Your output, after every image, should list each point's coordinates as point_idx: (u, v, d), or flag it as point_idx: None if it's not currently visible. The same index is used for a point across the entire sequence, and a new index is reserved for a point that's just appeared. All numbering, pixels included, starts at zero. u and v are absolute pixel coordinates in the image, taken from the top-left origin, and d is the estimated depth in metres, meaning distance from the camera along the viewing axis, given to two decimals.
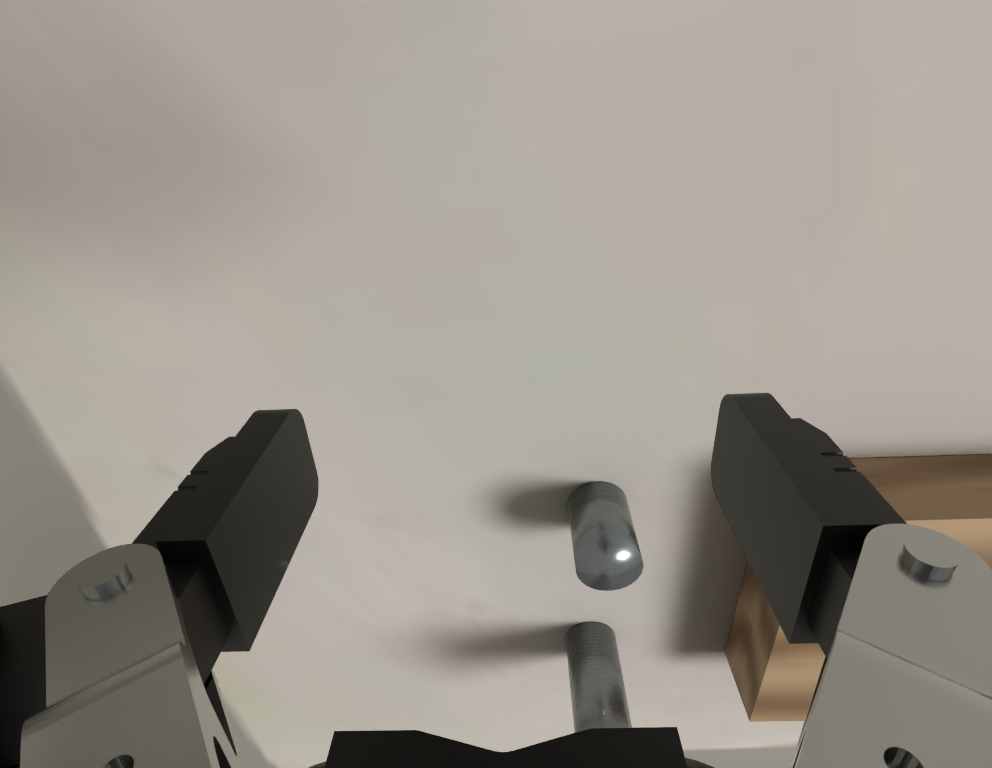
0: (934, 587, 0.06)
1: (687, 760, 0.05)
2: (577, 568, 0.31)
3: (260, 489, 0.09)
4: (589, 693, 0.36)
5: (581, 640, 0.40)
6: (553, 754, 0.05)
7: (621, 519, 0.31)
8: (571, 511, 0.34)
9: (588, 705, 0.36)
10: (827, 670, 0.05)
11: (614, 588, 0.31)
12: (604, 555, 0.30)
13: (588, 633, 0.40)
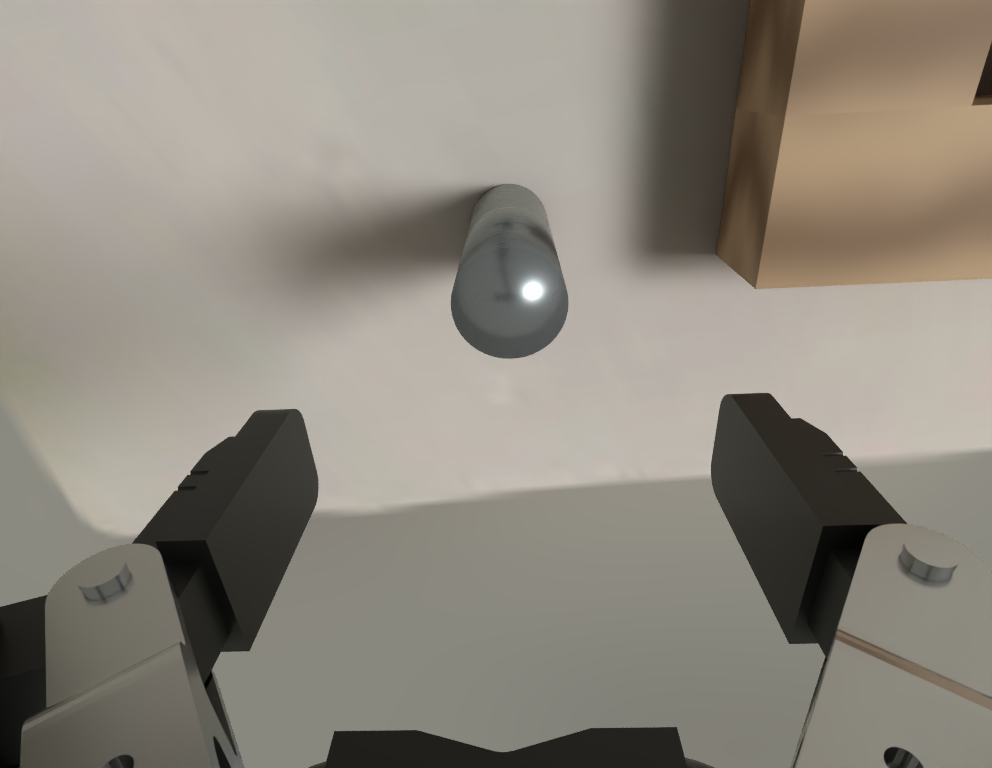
0: (934, 587, 0.06)
1: (687, 760, 0.05)
2: None
3: (260, 489, 0.09)
4: (488, 212, 0.22)
5: (489, 195, 0.25)
6: (553, 754, 0.05)
7: None
8: None
9: (483, 218, 0.21)
10: (827, 670, 0.05)
11: None
12: None
13: (501, 189, 0.25)
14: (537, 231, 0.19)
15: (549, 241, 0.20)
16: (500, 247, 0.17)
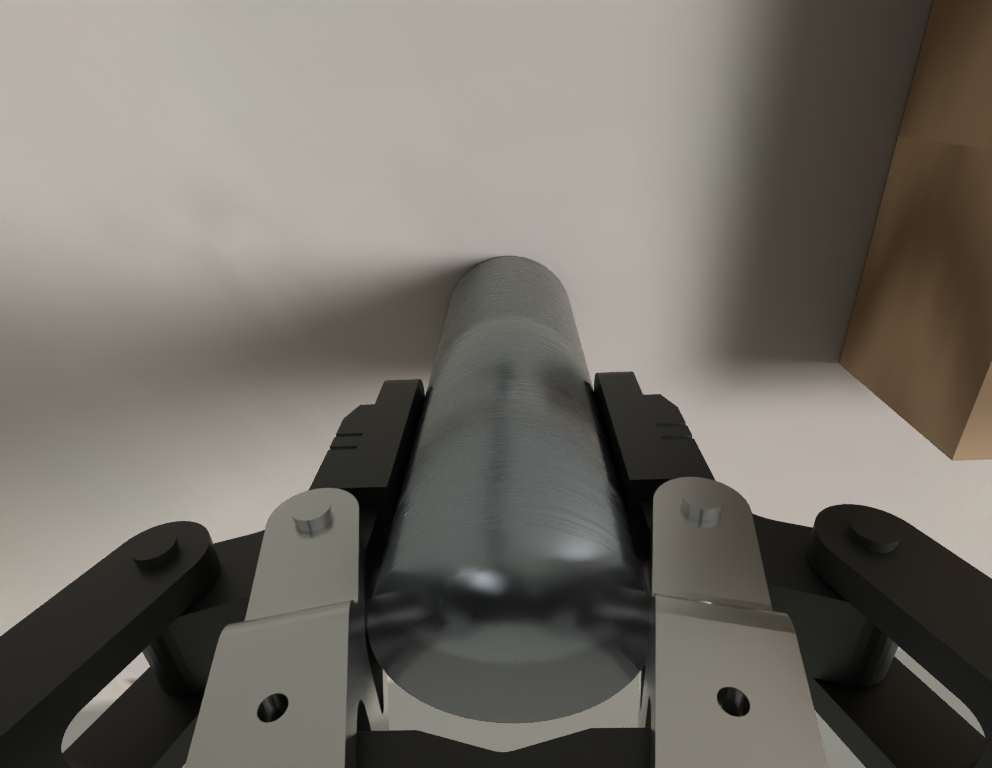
0: (696, 525, 0.07)
1: None
2: None
3: (407, 448, 0.10)
4: (470, 335, 0.12)
5: (475, 280, 0.15)
6: (554, 755, 0.05)
7: None
8: None
9: (460, 354, 0.11)
10: (657, 637, 0.05)
11: None
12: None
13: (496, 268, 0.15)
14: (570, 407, 0.09)
15: (594, 424, 0.09)
16: (487, 524, 0.06)
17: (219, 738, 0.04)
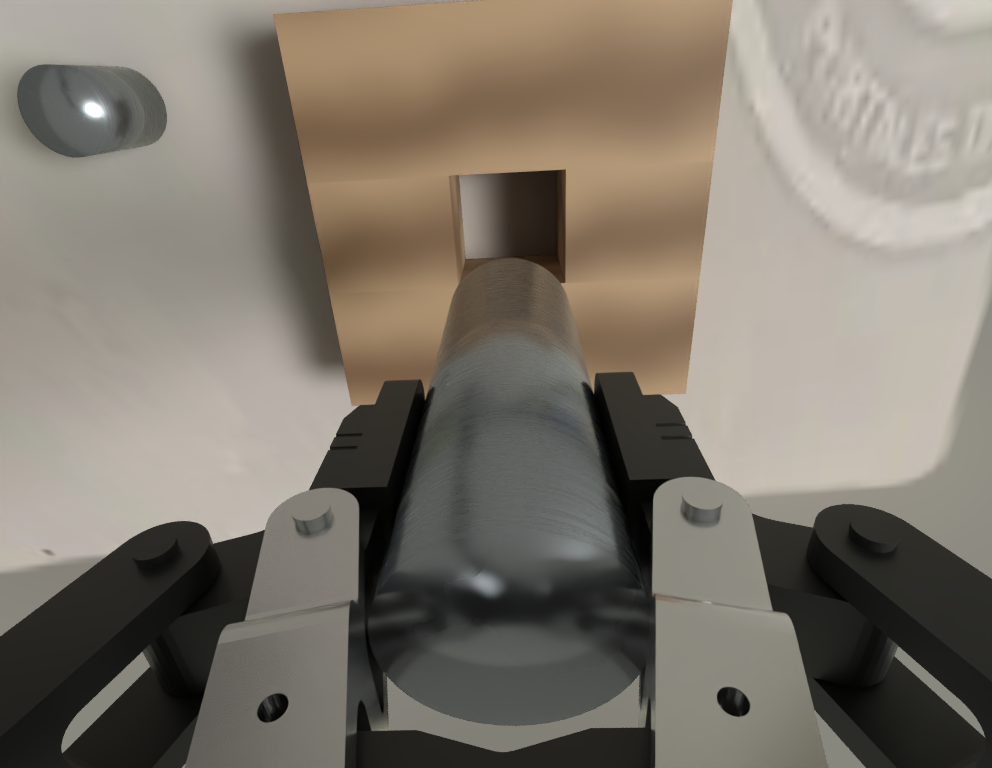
0: (696, 526, 0.07)
1: None
2: (23, 114, 0.24)
3: (407, 449, 0.10)
4: (470, 337, 0.12)
5: (476, 282, 0.15)
6: (553, 755, 0.05)
7: (97, 70, 0.25)
8: None
9: (460, 357, 0.11)
10: (657, 637, 0.05)
11: (85, 153, 0.25)
12: (44, 87, 0.24)
13: (496, 270, 0.15)
14: (570, 410, 0.09)
15: (594, 427, 0.09)
16: (487, 528, 0.06)
17: (219, 738, 0.04)
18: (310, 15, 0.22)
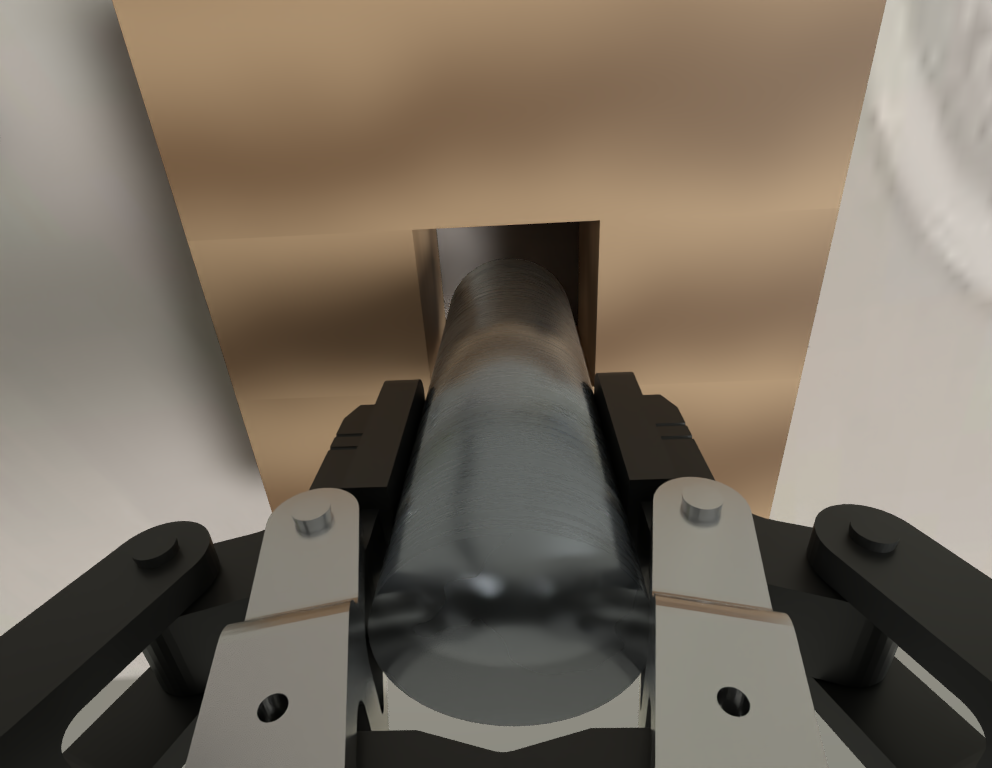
0: (696, 526, 0.07)
1: None
2: None
3: (407, 448, 0.10)
4: (470, 338, 0.12)
5: (476, 282, 0.15)
6: (553, 755, 0.05)
7: None
8: None
9: (460, 357, 0.11)
10: (657, 637, 0.05)
11: None
12: None
13: (496, 270, 0.15)
14: (570, 411, 0.09)
15: (594, 428, 0.09)
16: (487, 528, 0.06)
17: (219, 738, 0.04)
18: None
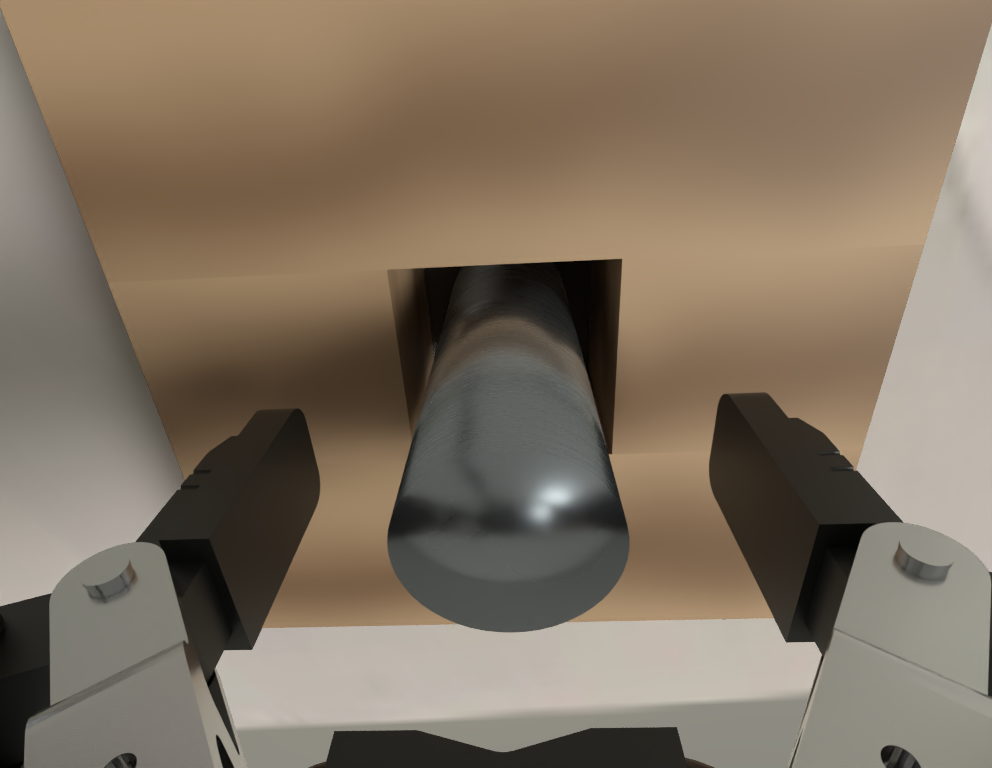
0: (929, 585, 0.06)
1: (687, 760, 0.05)
2: None
3: (263, 489, 0.09)
4: (473, 309, 0.13)
5: None
6: (554, 755, 0.05)
7: None
8: None
9: (464, 325, 0.12)
10: (824, 669, 0.05)
11: None
12: None
13: None
14: (560, 366, 0.10)
15: (582, 382, 0.11)
16: (488, 448, 0.08)
17: None
18: None
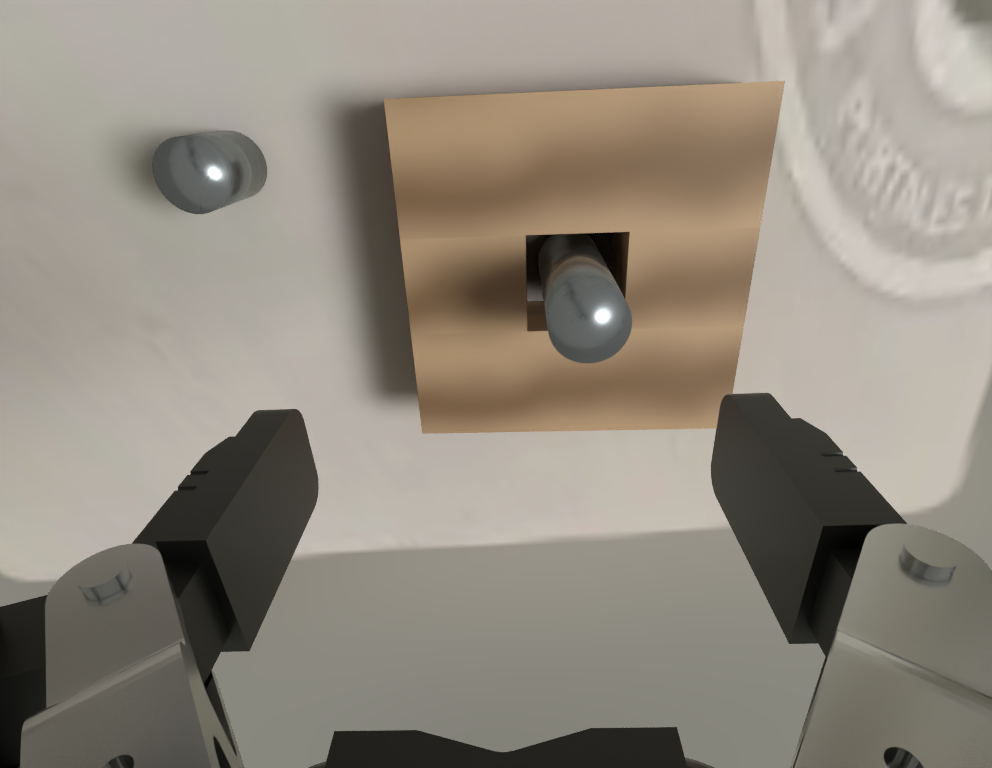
0: (934, 587, 0.06)
1: (687, 760, 0.05)
2: (156, 177, 0.28)
3: (260, 489, 0.09)
4: (562, 254, 0.29)
5: (556, 238, 0.32)
6: (554, 755, 0.05)
7: (218, 138, 0.29)
8: None
9: (560, 259, 0.28)
10: (827, 670, 0.05)
11: (206, 210, 0.29)
12: (178, 155, 0.27)
13: None
14: (605, 271, 0.26)
15: (613, 278, 0.27)
16: (586, 284, 0.24)
17: None
18: (415, 100, 0.26)
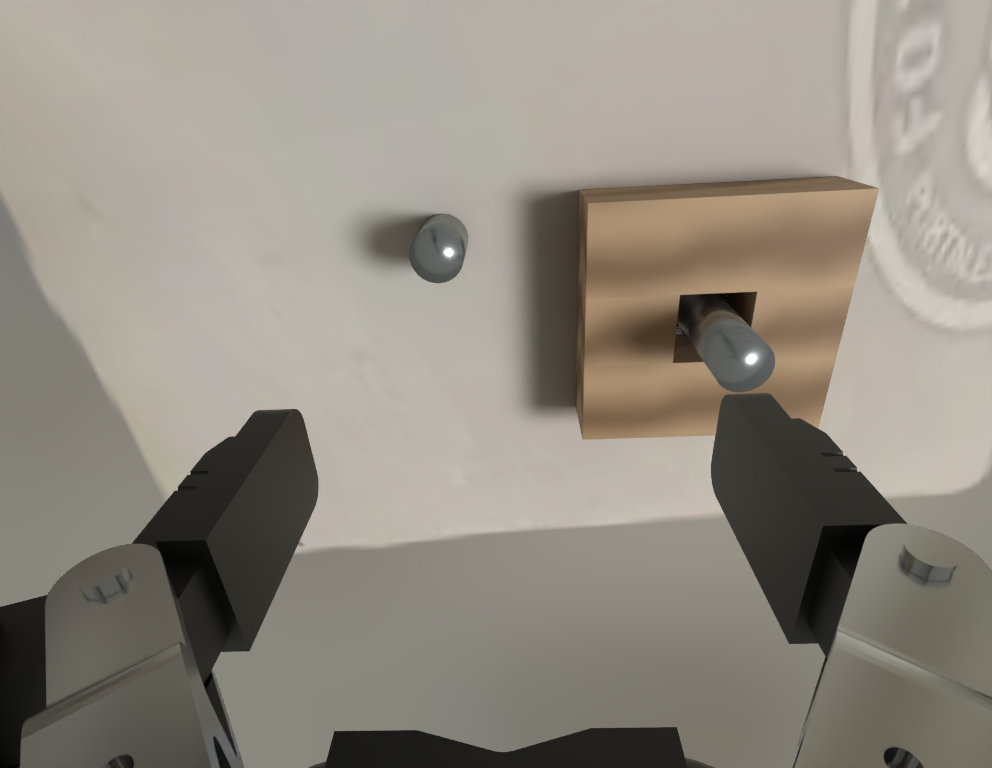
0: (934, 587, 0.06)
1: (687, 760, 0.05)
2: (411, 257, 0.38)
3: (260, 489, 0.09)
4: (706, 308, 0.39)
5: None
6: (553, 754, 0.05)
7: (450, 225, 0.39)
8: None
9: (707, 313, 0.38)
10: (827, 670, 0.05)
11: (444, 280, 0.39)
12: (430, 242, 0.37)
13: None
14: (746, 324, 0.37)
15: None
16: (745, 339, 0.34)
17: None
18: (611, 204, 0.36)
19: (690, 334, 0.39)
